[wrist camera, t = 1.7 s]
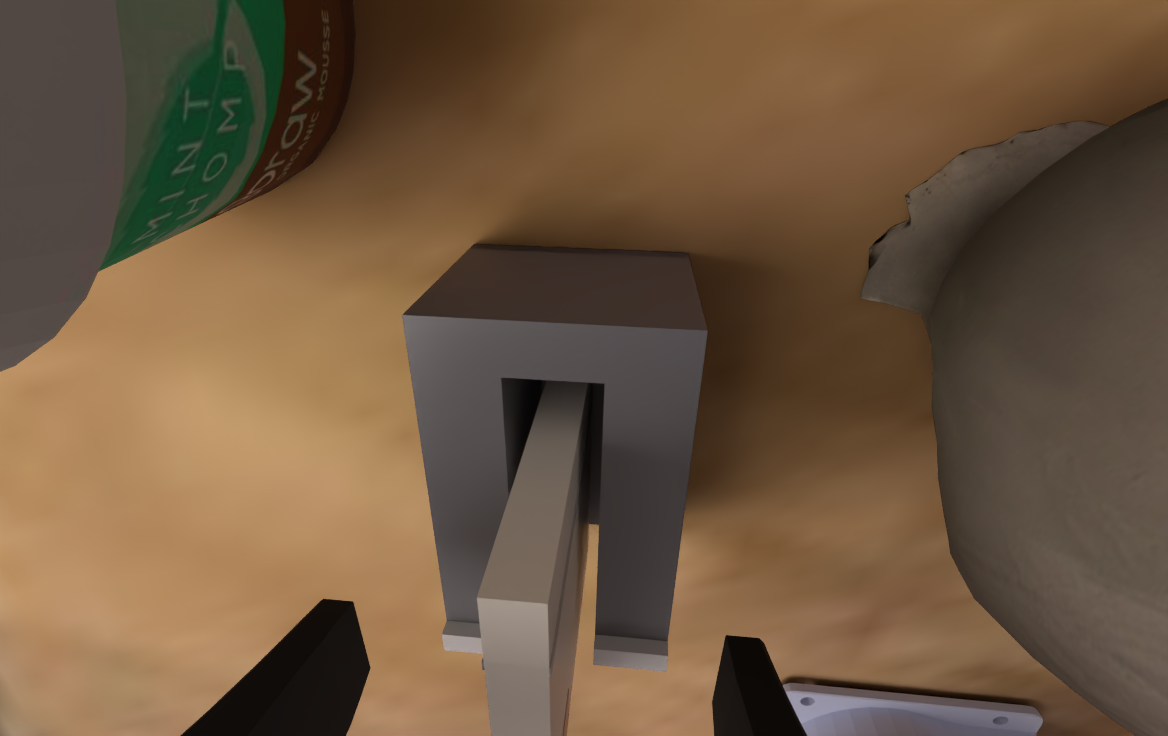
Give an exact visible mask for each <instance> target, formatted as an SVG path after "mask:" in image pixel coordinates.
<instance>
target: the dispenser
mask: <svg viewBox="0 0 1168 736" xmlns="http://www.w3.org/2000/svg"><path fill="white" fill-rule="evenodd" d="M402 318H403V325H404V331H405V338H406V345H407V352H408V359H409V365H410V372H411V379H412V386H413V393H414V399H415V406H416V413H417V420H418V427H419V434H420V440H421V447H422V454H423V461H424V468H425V474H426V481H427V488H428V495H429V502H430V508H431V515H432V522H433V529H434V536H435V542H436V549H437V556H438V563H439V570H440V577H441V583H442V590H443V597H444V604H445V611H446V617H447V622H446V625H445V627H444V630H443V633H442V638H443V644H444V650H449V651H459V652H469V653H480V654H483V651H482V642H481V632H480V623H479V613H478V604H477V596H478V592H479V589H480V586H481V583H482V580H483V577H484V574H485V571H486V567H487V564H488V561H489V558H490V555H491V552H492V549H493V545H494V542H495V539H496V536H497V533H498V530H499V527H500V524H501V520H502V517H503V514H504V511H505V508H506V505H507V502H508V499H509V495H510V492H511V489H512V486H513V483H514V480H515V477H516V474H517V470H518V467H519V464H520V461H521V458H522V455H523V452H524V448H525V445H526V442H527V439H528V436H529V433H530V430H531V427H532V423H533V420H534V417H535V414H536V411H537V408H538V405H539V402H540V398H541V395H542V392H543V389H544V386H545V383H546V380H552V381H568V382H585V383H593V384H592V398H593V407H592V423H591V461H590V500H589V524H599V545H598V572H597V599H596V625H595V642H594V660H593V665H602V666H612V667H623V668H633V669H643V670H653V671H663V672H666V669H667V661H668V634H669V626H670V618H671V611H672V603H673V595H674V587H675V580H676V572H677V564H678V557H679V549H680V541H681V534H682V526H683V518H684V510H685V503H686V495H687V487H688V480H689V472H690V464H691V457H692V449H693V441H694V433H695V426H696V418H697V410H698V403H699V395H700V387H701V380H702V372H703V364H704V356H705V349H706V341H707V333H708V329H707V326H706V322H705V318H704V314H703V310H702V306H701V302H700V298H699V294H698V291H697V287H696V283H695V279H694V275H693V271H692V267H691V263H690V259H689V256H688V253H683V252H658V251H634V250H610V249H585V248H561V247H536V246H512V245H488V244H474V245H473V246H472V247H471V248H470V249H469V250H468V251H467V252H466V253H465V254H464V255H463V256H462V257H461V258H460V259H459V260H458V261H457V262H455V263H454V264H453V265H452V266H451V267H450V268H449V269H448V270H447V271H446V272H445V273H444V274H443V275H442V276H441V277H440V278H439V279H438V280H437V281H436V282H435V283H434V284H433V285H432V286H431V287H430V288H429V289H428V290H427V291H426V292H425V293H424V294H423V295H422V296H421V297H420V298H419V299H418V300H417V301H416V302H415V303H414V304H413V305H412V306H411V307H410V308H409V309H408V310H407V311H406V312H405V313H404V314H403V315H402Z"/></svg>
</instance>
